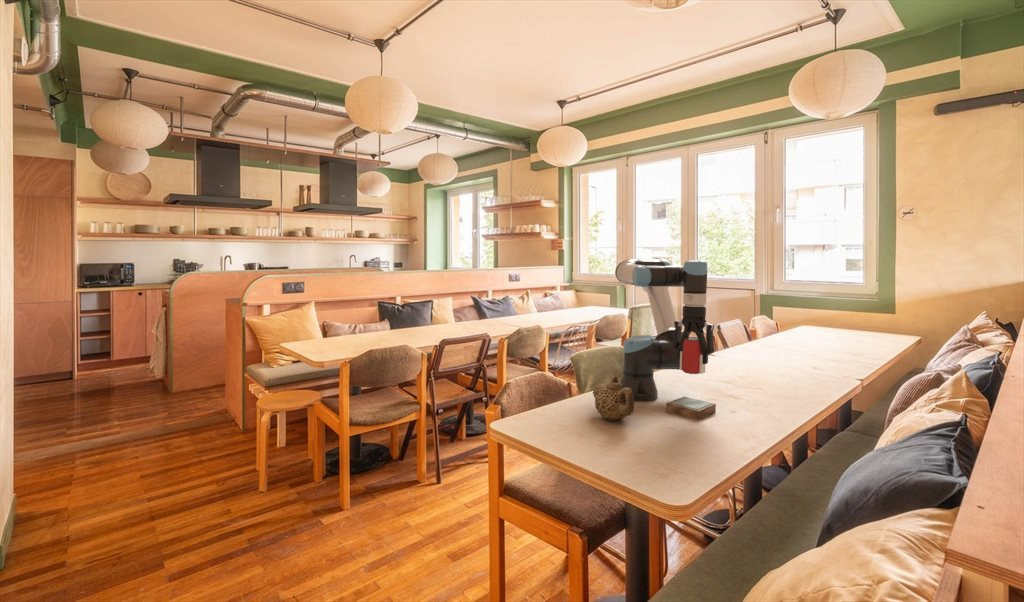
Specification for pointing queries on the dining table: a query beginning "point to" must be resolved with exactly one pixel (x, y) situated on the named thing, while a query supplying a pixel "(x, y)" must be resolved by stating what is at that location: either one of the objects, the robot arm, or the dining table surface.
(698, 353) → the beer can
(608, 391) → the teapot
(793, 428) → the dining table surface
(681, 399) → the pedestal
